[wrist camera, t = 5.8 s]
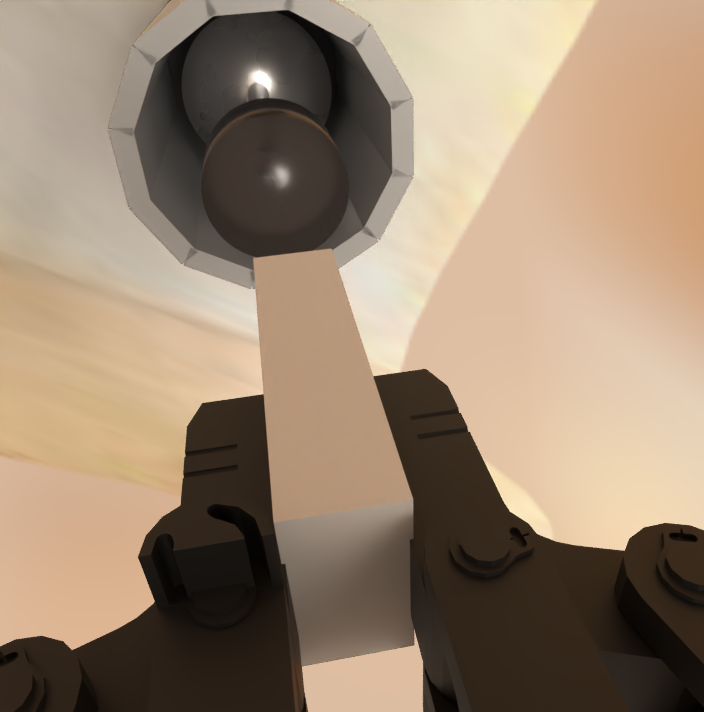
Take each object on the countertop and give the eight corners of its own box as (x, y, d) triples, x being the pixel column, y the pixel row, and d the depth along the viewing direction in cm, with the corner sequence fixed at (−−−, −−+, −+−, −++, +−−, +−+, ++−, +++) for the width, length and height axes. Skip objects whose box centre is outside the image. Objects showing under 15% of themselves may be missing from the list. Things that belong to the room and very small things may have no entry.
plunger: (167, 14, 29) (122, 74, 17) (323, 1, 30) (391, 50, 17) (198, 169, 33) (180, 312, 21) (334, 154, 34) (396, 284, 22)
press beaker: (129, -33, 32) (63, -10, 19) (344, -50, 33) (418, -38, 20) (185, 222, 39) (164, 361, 26) (358, 202, 40) (419, 326, 28)
